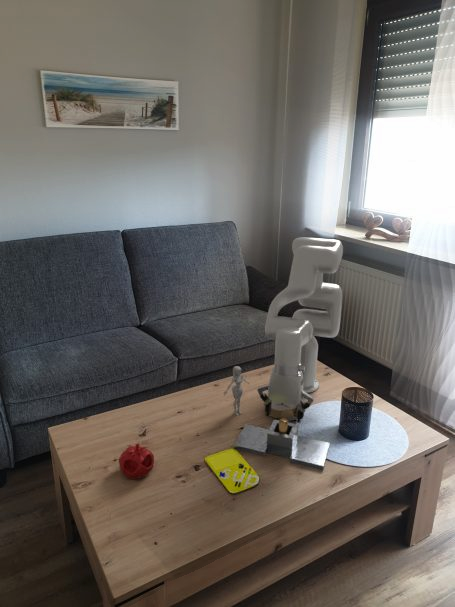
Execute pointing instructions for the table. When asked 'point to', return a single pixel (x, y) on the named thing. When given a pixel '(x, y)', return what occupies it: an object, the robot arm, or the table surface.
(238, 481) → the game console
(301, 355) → the robot arm
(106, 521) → the table surface
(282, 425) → the hinge pin
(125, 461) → the pomegranate
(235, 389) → the human figurine
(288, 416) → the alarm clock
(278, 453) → the hinge frame
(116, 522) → the table surface
